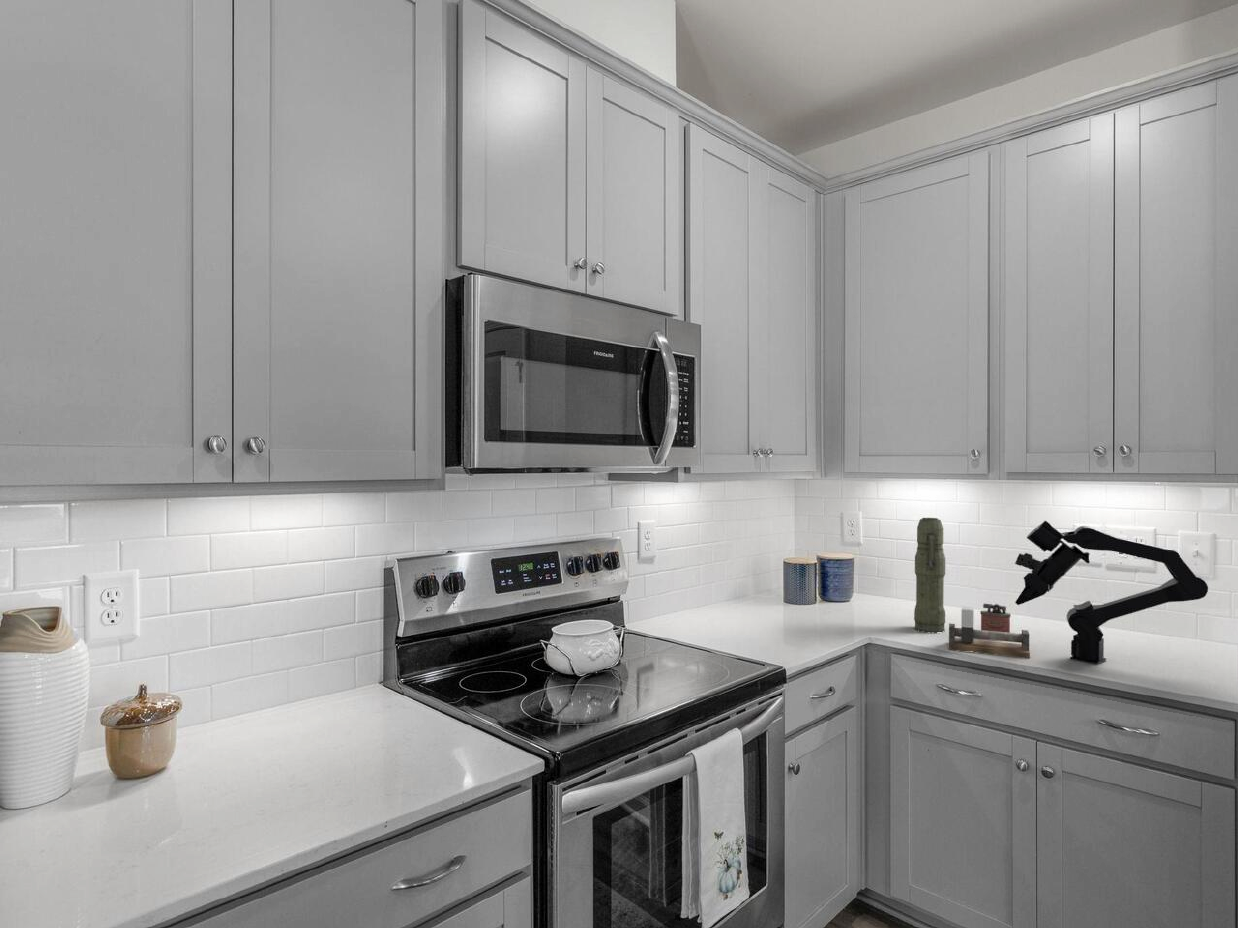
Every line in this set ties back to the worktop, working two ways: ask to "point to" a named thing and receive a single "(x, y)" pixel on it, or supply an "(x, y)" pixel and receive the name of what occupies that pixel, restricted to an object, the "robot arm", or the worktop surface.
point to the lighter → (995, 618)
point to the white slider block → (967, 624)
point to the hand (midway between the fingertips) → (1016, 603)
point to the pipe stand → (991, 642)
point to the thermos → (929, 576)
